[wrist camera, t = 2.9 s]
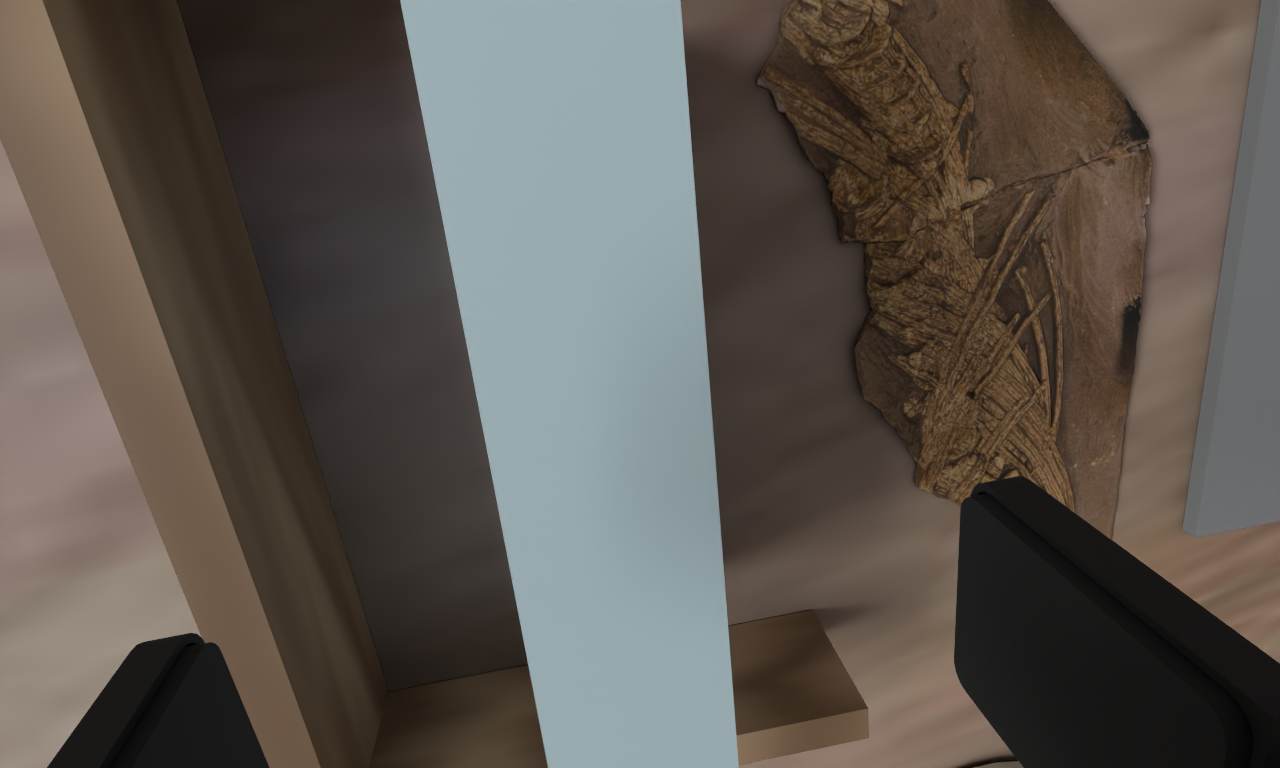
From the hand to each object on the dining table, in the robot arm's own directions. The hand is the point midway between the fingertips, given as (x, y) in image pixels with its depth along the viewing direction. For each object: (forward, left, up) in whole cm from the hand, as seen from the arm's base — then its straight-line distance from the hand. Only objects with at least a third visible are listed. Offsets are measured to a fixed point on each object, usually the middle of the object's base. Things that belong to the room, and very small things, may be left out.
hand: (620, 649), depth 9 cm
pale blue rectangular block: (0, +1, -15) cm, 15 cm away
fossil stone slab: (-14, +1, -15) cm, 21 cm away
